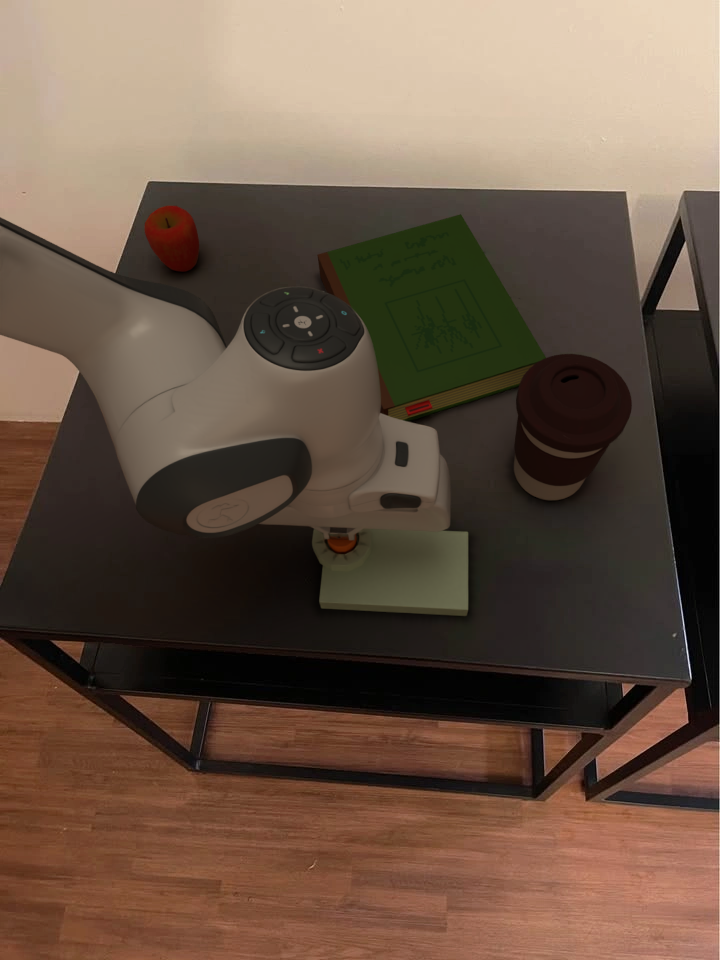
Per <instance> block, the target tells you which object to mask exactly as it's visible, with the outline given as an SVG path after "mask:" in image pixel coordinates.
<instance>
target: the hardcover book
mask: <svg viewBox="0 0 720 960" xmlns="http://www.w3.org/2000/svg"><path fill="white" fill-rule="evenodd" d="M317 262H318V263H317V264H318V269H319V276H320V280H321V282H322V284H323V286H324V290H325V292H327V293H329V294H332V295H334V296H336V297H338V298H339V299H341V300H343V301H344V302H345V303H347V304H348V305H349V306H350V307H351V308H352V309H353V310H354V311H355V312H356V313H357V314H358V315H359V317H360V318H361V319H362V321H363V322H364V324H365V326H366V327H367V330H368V332H369V334H370V337H371V340H372V343H373V347H374V351H375V356H376V361H377V367H378V373H379V382H380V393H381V409H380V413H382V414H384V415H387V416H390V417H393V418H396V419H400V420H403V421H407V422H412V421H413V420H417V419H420V418H423V417H426V416H430V415H433V414H436V413H439V412H442V411H446V410H449V409H451V408H455V407H458V406H462V405H465V404H468V403H471V402H475V401H478V400H481V399H484V398H487V397H490V396H493V395H497V394H500V393H502V392H507V391H509V390H513V389H516V388H519V384H520V382H521V379H522V377H523V376H524V374H525V373H526V372H527V371H528V369H530V368H531V367H532V366H533V365H534V364H536V363H537V362H539V361H541V360H543V359H545V358H547V356H546V355H545V353H544V352H543V349H542V348H541V346H540V345H539V343H538V341H537V340H536V338H535V336H534V334H533V333H532V331H531V330H530V327H528V325H527V322H526V321H525V319H524V318H523V316H522V314H521V313H520V311H519V309H518V308H517V306H516V304H515V303H514V301H513V299H512V298H511V296H510V294H509V292H508V290H507V288H506V287H505V286H504V284H503V283H502V281H501V279H500V278H499V275H498V274H497V272H496V271H495V269H494V267H493V265H492V264H491V262H490V261H489V259H488V257H487V256H486V253H485V252H484V251H483V249H482V247H481V246H480V244H479V242H478V240H477V239H476V236H475V235H474V233H473V232H472V230H471V229H470V227H469V225H468V224H467V222H466V220H465V218H464V216H463V215H462V214H461V213H460V214H456V215H453V216H450V217H446V218H443V219H439V220H435V221H432V222H428V223H425V224H421V225H418V226H417V225H416V226H414V227H410V228H407V229H403V230H400V231H399V230H398V231H396V232H393V233H388V234H385V235H381V236H378V237H375V238H371V239H368V240H363V241H361V242H356V243H354V244H350V245H346V246H343V247H340V248H335V249H331V250H328V251H326V252H322V253H318V254H317Z"/></svg>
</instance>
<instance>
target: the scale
mask: <svg viewBox="0 0 720 960" xmlns="http://www.w3.org/2000/svg"><path fill="white" fill-rule="evenodd" d="M356 537H357V543H356V546H355V547H354V549H353V550H352V551H350V552H348V553H345V554H338V553H336V552H334V551H332V550H331V548H330V547H329V544H328V540H327V539H324V535H323V533H321V532H319V531H317V530H316V529H314V528H313V531H312V539H311V546H312V549H313V552H314V554H315V556H316V559H317V560H318V562H319V564H320V565H322V570H321V579H320V589H319V598H318V602H319V603H318V604H319V606H320V609H326V610H344V611H345V610H346V611H365V612H386V613H399V614H400V613H402V614H422V615H438V616H439V615H440V616H458V617H459V616H460V617H467V616H468V612H469V532H468V531H460V530H459V531H456V530H443V531H439V532H430V531H408V530H386V529H362V530H361V531H359V532H357V533H356Z"/></svg>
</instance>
